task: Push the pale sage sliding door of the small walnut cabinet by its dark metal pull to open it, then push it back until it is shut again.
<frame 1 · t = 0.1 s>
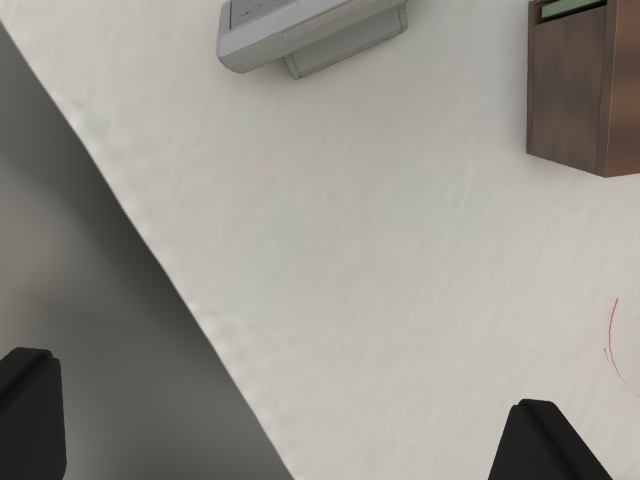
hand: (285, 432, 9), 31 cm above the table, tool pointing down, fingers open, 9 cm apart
digital clock: (326, 4, 35), on the table
cabinet: (637, 77, 37), on the table
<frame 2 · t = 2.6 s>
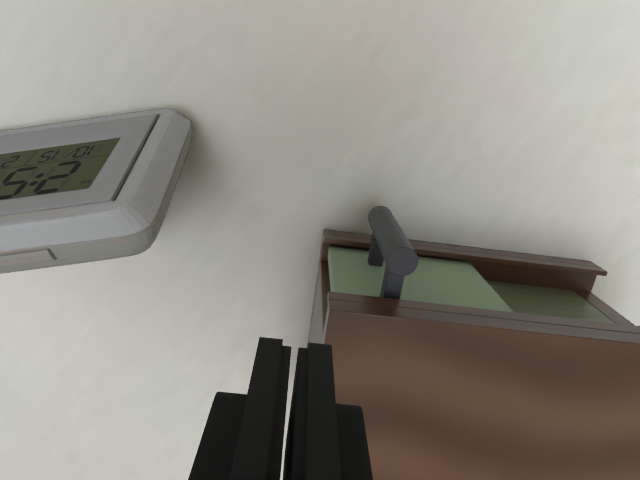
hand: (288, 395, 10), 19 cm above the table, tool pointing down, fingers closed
digital clock: (76, 169, 28), on the table
sliding door: (418, 260, 24), point 6 cm above the table, slide at 0.0 cm
cabinet: (437, 335, 32), on the table
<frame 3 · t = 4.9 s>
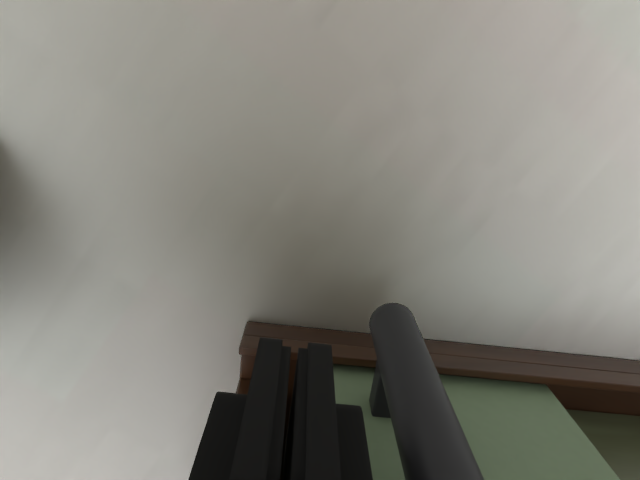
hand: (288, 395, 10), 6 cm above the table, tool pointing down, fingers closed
sliding door: (472, 429, 12), point 5 cm above the table, slide at 1.8 cm, touching gripper
cabinet: (443, 479, 19), on the table
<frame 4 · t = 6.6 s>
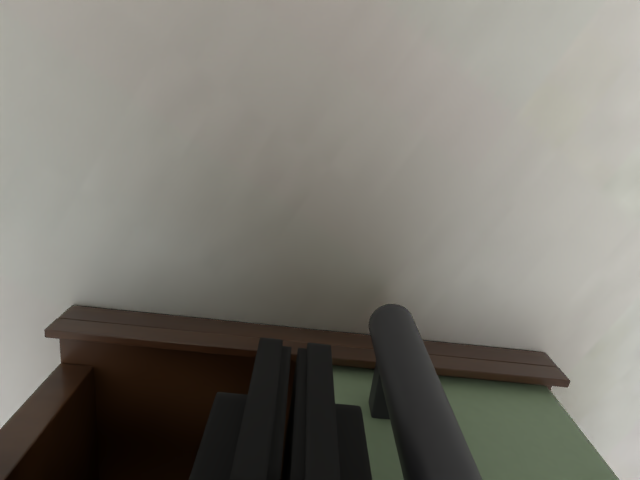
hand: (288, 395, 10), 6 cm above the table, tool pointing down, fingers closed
sliding door: (472, 431, 12), point 5 cm above the table, slide at 8.1 cm, touching gripper
cabinet: (296, 469, 19), on the table
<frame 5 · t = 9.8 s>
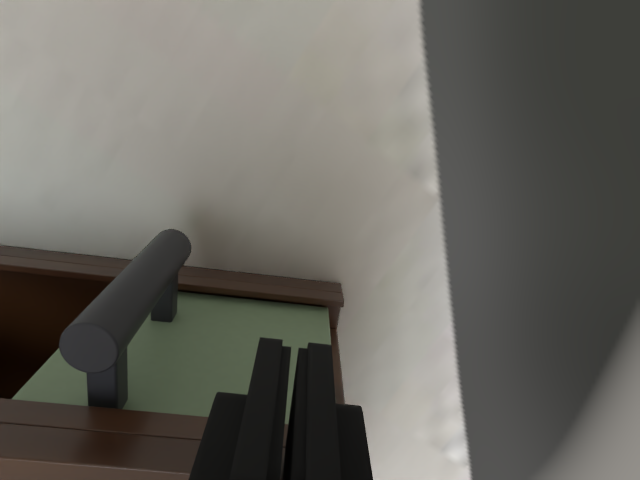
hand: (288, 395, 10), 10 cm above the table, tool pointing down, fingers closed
sliding door: (204, 320, 15), point 5 cm above the table, slide at 8.0 cm
cabinet: (142, 386, 22), on the table
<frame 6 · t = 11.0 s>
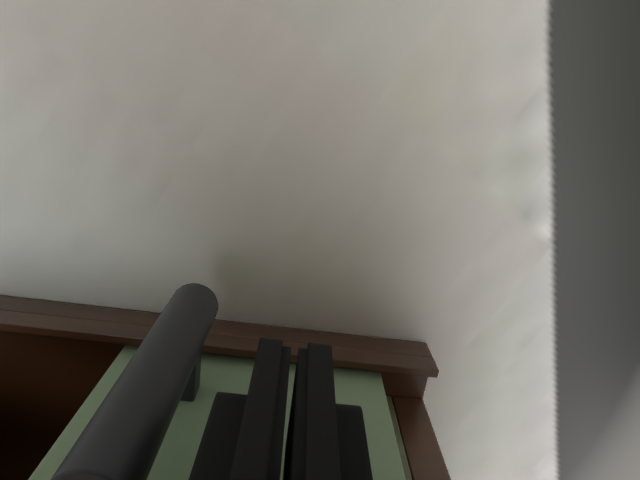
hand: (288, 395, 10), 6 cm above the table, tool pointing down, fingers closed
sliding door: (239, 411, 11), point 5 cm above the table, slide at 6.7 cm, touching gripper
cabinet: (183, 459, 19), on the table
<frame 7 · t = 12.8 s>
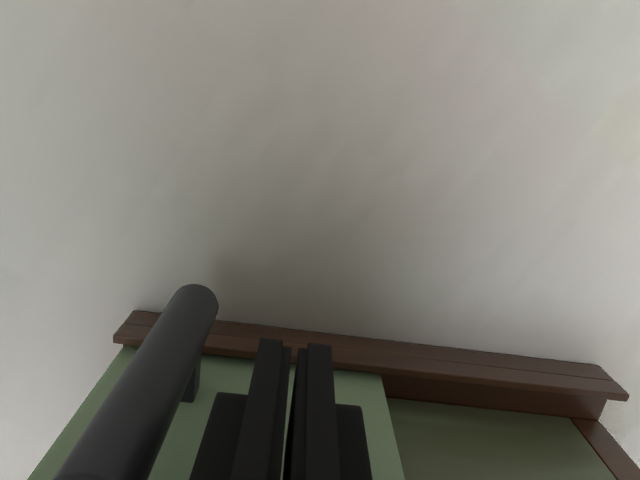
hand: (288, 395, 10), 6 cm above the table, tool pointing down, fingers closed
sliding door: (239, 413, 11), point 5 cm above the table, slide at -0.2 cm, touching gripper
cabinet: (345, 475, 19), on the table
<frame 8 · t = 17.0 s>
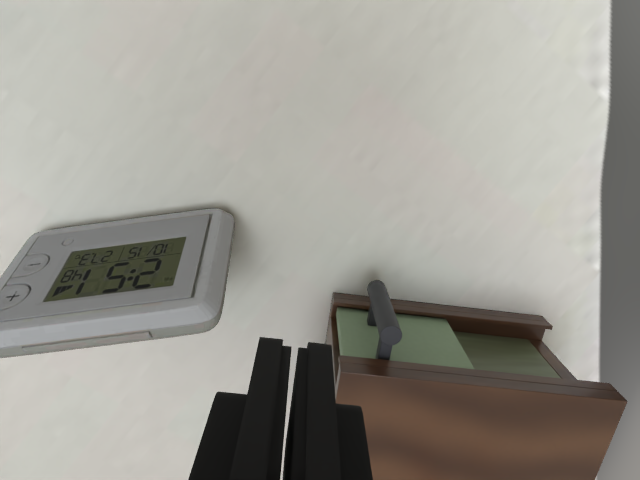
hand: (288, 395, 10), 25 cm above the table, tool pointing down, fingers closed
digital clock: (143, 248, 36), on the table
sliding door: (404, 325, 32), point 5 cm above the table, slide at 0.0 cm
cabinet: (422, 372, 40), on the table
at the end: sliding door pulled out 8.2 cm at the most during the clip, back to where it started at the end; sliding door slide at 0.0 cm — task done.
